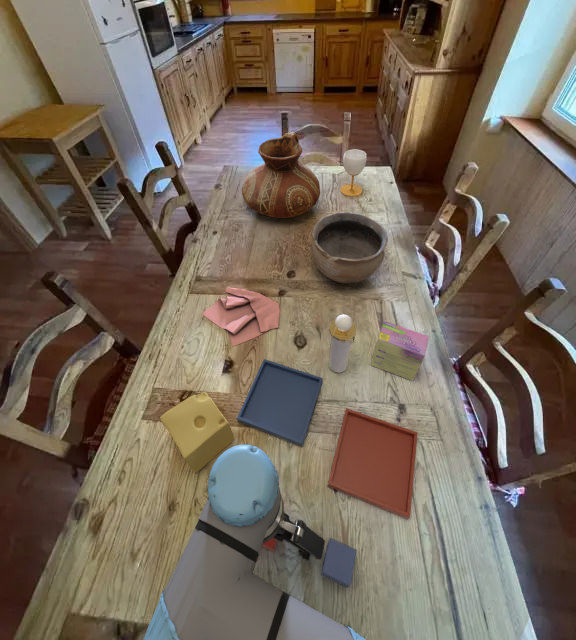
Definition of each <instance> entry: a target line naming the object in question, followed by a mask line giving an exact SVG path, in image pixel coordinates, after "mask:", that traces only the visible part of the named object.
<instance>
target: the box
mask: <svg viewBox="0 0 576 640" xmlns="http://www.w3.org/2000/svg"><path fill="white" fill-rule="evenodd" d="M429 337H430V336H429V335H427V334H424V333H421V332H418V331H415V330H412V329H410V328H406V327H403V326H401V325H397V324H394V323H392V322H388V321H385V320H384V321H383V323H382V326H381V328H380V332H379V334H378V338H377V341H376V344H375V348H374V350H373V351H374V352H373V355H372V359H371V361H370V362H371V363H370V366H372V367H375V368H377V369H380V370H384V371H386V372H388V373H390V374H392V375H393V374H394V375H396V376H398V377H402V378H404V379H406V380H408V381H411V382H413V381H414V380H415V378H416V376H417V374H418V371H419V370H420V368H421V365H422V363H423V361H424V360H425V357H426V353H427V349H428V343H429Z"/></svg>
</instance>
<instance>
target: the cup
mask: <svg viewBox="0 0 576 640" xmlns="http://www.w3.org/2000/svg"><path fill="white" fill-rule="evenodd" d="M342 158H343V168H344V170H345V172H346V173H347V174H348V175H349V176H351V181H350V183H347V184H343V185H342V186H341V187H340V192H341V193H342V194H343V195H345V196H347V197H358V196H360V195H361V194H362V193H363V188H362V187H361V186H360V185H358V184H355V183H354V180H355V176H356V177H357V176H358V175H360V174H361V173H362V172H363V170H364V169H365V167H366V164H367V159H368V158H367V153H366V151H364V150H362V149H357V148H353V149H352V148H351V149H348V150H346V151H345V152H344V153H343V157H342Z"/></svg>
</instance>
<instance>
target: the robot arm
mask: <svg viewBox="0 0 576 640" xmlns="http://www.w3.org/2000/svg"><path fill="white" fill-rule="evenodd" d="M209 472H210V473H209V474H208V475H209V476H208V480H207V495H208V496H207V500H206V502H205V503H204V506H203V508H202V510H201V512H200V514H199V516H198V519H197V520H198V521H197V523H196V524H195V527H194V529H193V531H192V533H191V535H190V537H189V539H188V541H187V543H186V545H185V547H184V549H183V551H182V553H181V555H180V558H179V560H178V562H177V563H176V566H175V568H174V570H173V571H172V574H171V576H170V578H169V580H168V582H167V583H166V586H165V588H164V589H163V590H162V592H161V594H160V598H159V601H158V604H157V606H156V608H155V610H154V613H153V615H152V617H151V620H150V622H149V623H148V626H147V629H146V631H145V634H144V636H143V640H367V639H366V638H365V637H363V636H362V635H360V634H359V633H358V632H356V631H355V630H354V629H353V628H352V627H349V626H348V625H343V624H342V623H339V622H338V621H336V620H335V619H332V618H330V617H329V616H327V615H325V614H324V613H322V612H320V611H318V610H316V609H315V608H313V607H311V606H309V605H308V604H306V603H304V602H302V601H300V600H298V599H297V598H295V597H293V596H291V595H290V594H289V593H287V592H285V591H284V590H282V589H281V588H278V587H277V586H275V585H273V584H272V583H271V582H268V581H266V580H265V579H263V578H262V577H260V576H258V575H257V574H255V573H254V570H255V567H256V563H257V562H258V560H259V556H260V551H261V548H262V544H263V543H266V542H268V541H269V540H271V539H272V538H273V539H275V540H278V542H279V543H282V542H283V541H284V542H286V543H288V544H289V545H291V546H292V547H294V548H296V549H298V556H300V557H301V558H302V559H303V560H305V561H307V562H309V561H310V557H311V556H313V558H315V559H316V560H320V561H321V560H322V557H323V553H324V548H325V543H326V539H324V537H322V536H320V535H319V534H318V533H316V532H315V531H314V530H312V529H311V528H310V527H309V526H307V523H306V522H304V520H302V519H297V520H294V522H293V521H292V520H291V519H290V515H289V514H288V513H286V512H285V506H284V501H283V495H282V493H281V488H280V481H279V480H280V478H279V477H280V476H279V473H278V470H276V466H275V465H274V463H273V461H272V460H271V458H270V456H269V455H268V454H267V453H266V452H265V451H264V450H263V449H261V448H259V447H258V446H255V445H251V444H238V445H234V446H231V447H230V448H227V449H226V450H225V451H224V452H222V453H221V454H220V455H219V456H218V458H217V459H216V460H215V461H214V463H213V465H212V467H211V469H210V471H209Z"/></svg>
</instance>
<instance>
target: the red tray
mask: <svg viewBox="0 0 576 640" xmlns="http://www.w3.org/2000/svg"><path fill="white" fill-rule="evenodd" d="M339 432H340V433H339V436H338V440H337V445H336V448H335V453H334V456H333V462H332V466H331V469H330V474H329V478H328V481H327V487H328V488H330V489H333V490H335V491H338V492H339V493H343V494H345V495H347V496H350V497H352V498H355V499H357V500H359V501H362V502H363V503H367V504H369V505H371V506H374V507H376V508H379V509H382V510H384V511H387V512H388V513H391V514H393V515H396V516H398V517H400V518H403V519H406V520H409V519H410V518H411V509H412V498H413V489H414V477H415V465H416V455H417V443H418V433H419V432H417V431H414V430H412V429H409V428H405V427H403V426H400V425H397V424H394V423H391V422H388V421H386V420H383V419H380V418H377V417H375V416H370V415H369V414H365V413H361V412H360V411H356V410H353V409H351V408H348V407H346V408H345V412H344V416H343V420H342V423H341V428H340V431H339Z"/></svg>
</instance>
